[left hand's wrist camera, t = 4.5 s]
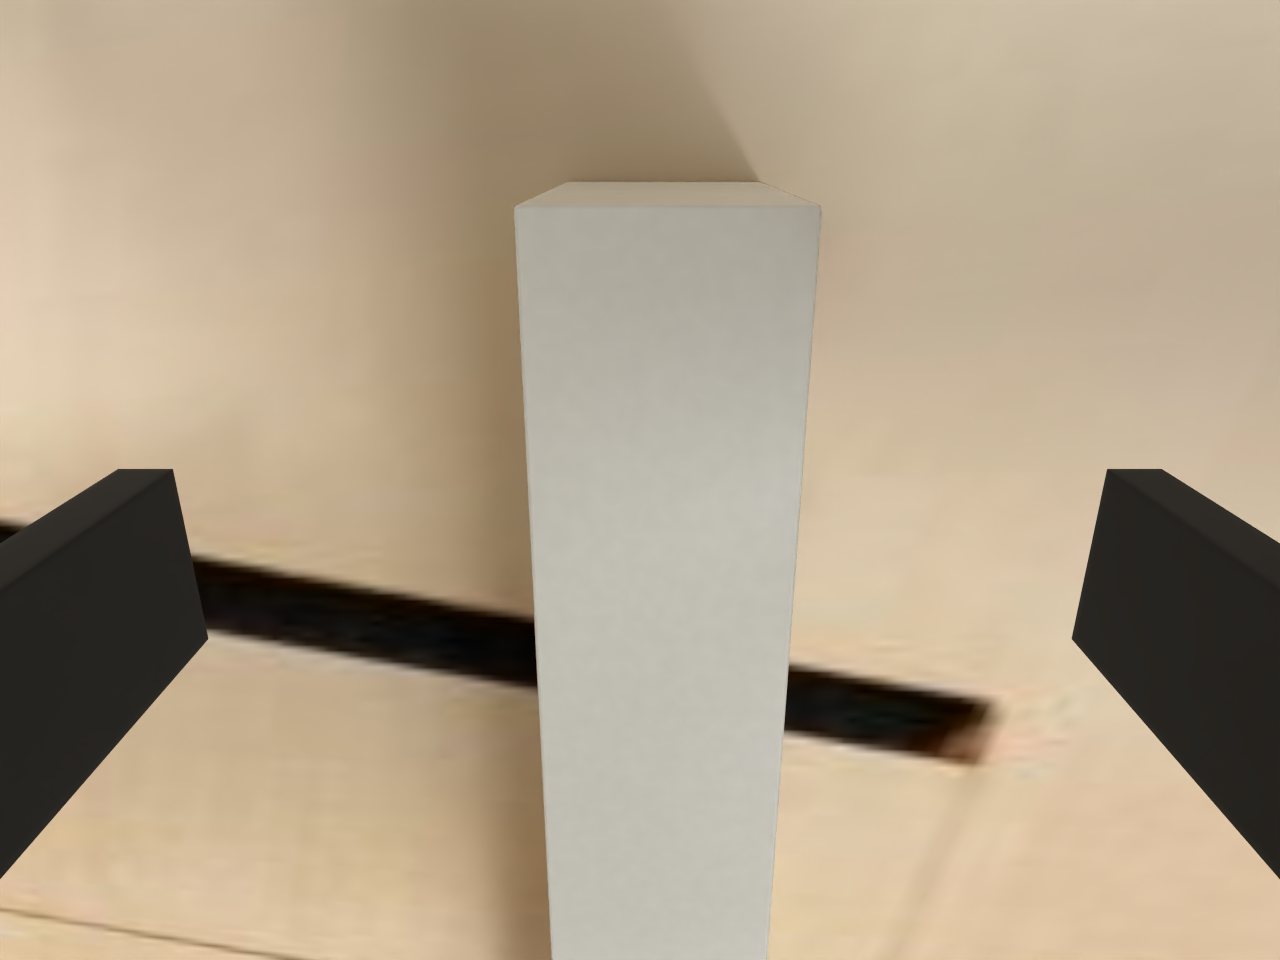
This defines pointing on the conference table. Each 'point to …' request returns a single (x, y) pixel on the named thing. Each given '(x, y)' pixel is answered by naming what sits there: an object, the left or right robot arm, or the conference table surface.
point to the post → (663, 549)
